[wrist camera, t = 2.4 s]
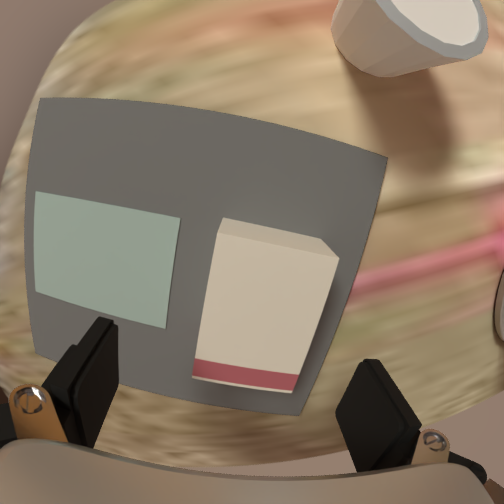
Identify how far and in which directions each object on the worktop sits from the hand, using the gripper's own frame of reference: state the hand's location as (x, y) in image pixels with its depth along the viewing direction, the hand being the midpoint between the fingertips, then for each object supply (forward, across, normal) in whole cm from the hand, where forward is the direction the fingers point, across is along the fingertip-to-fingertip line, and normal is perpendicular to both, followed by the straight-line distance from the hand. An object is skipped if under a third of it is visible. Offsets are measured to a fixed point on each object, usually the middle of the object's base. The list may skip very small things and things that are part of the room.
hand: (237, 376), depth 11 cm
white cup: (+8, -5, -17) cm, 19 cm away
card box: (+7, -1, 0) cm, 7 cm away
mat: (+8, +4, 0) cm, 9 cm away
